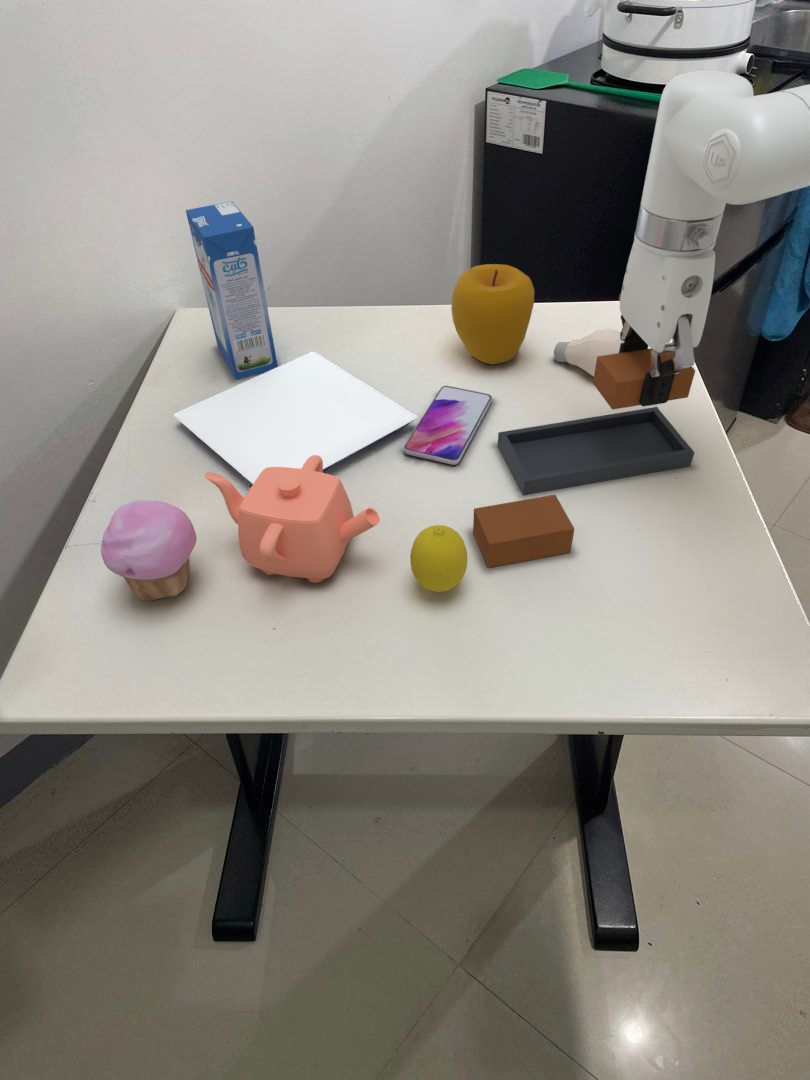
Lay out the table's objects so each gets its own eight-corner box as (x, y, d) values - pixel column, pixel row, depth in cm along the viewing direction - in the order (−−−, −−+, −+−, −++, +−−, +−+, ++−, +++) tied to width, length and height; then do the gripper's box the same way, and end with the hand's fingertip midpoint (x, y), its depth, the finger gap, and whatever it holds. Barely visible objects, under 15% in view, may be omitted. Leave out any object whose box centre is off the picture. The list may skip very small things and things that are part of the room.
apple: (437, 362, 104) (436, 275, 95) (476, 330, 110) (479, 245, 101) (505, 385, 99) (511, 295, 90) (542, 350, 106) (551, 262, 97)
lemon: (472, 573, 75) (475, 516, 69) (457, 613, 71) (459, 556, 66) (421, 562, 76) (419, 504, 71) (403, 600, 73) (400, 543, 67)
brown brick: (472, 532, 79) (473, 508, 77) (551, 518, 80) (555, 494, 78) (487, 568, 75) (489, 544, 73) (570, 552, 77) (574, 528, 74)
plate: (272, 510, 83) (269, 496, 81) (175, 426, 95) (171, 412, 94) (419, 429, 93) (418, 415, 92) (314, 362, 105) (313, 349, 104)
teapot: (345, 501, 84) (336, 428, 76) (386, 569, 76) (380, 495, 69) (223, 540, 80) (201, 467, 73) (253, 616, 72) (232, 543, 65)
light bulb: (541, 332, 100) (616, 334, 93) (566, 322, 104) (639, 324, 97) (543, 380, 102) (616, 386, 95) (567, 369, 107) (639, 373, 100)
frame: (497, 445, 90) (498, 432, 89) (653, 419, 93) (656, 406, 91) (522, 495, 83) (524, 481, 82) (690, 466, 86) (694, 452, 85)
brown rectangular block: (592, 383, 84) (597, 356, 82) (665, 371, 85) (671, 344, 83) (612, 409, 80) (617, 382, 78) (688, 397, 82) (695, 370, 79)
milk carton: (217, 347, 109) (185, 209, 95) (258, 337, 111) (231, 200, 97) (236, 380, 103) (203, 236, 89) (278, 369, 104) (253, 226, 90)
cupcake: (137, 554, 79) (108, 482, 72) (217, 554, 78) (195, 482, 71) (111, 619, 72) (76, 547, 65) (198, 619, 72) (172, 547, 65)
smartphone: (494, 394, 96) (457, 462, 87) (493, 400, 97) (457, 467, 87) (442, 384, 98) (400, 448, 88) (441, 389, 99) (400, 454, 89)
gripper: (763, 258, 64) (709, 426, 77) (671, 189, 76) (638, 345, 89) (684, 268, 63) (642, 437, 76) (604, 197, 75) (579, 354, 88)
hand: (640, 386), depth 83 cm, fingers closed on brown rectangular block, 5 cm apart
